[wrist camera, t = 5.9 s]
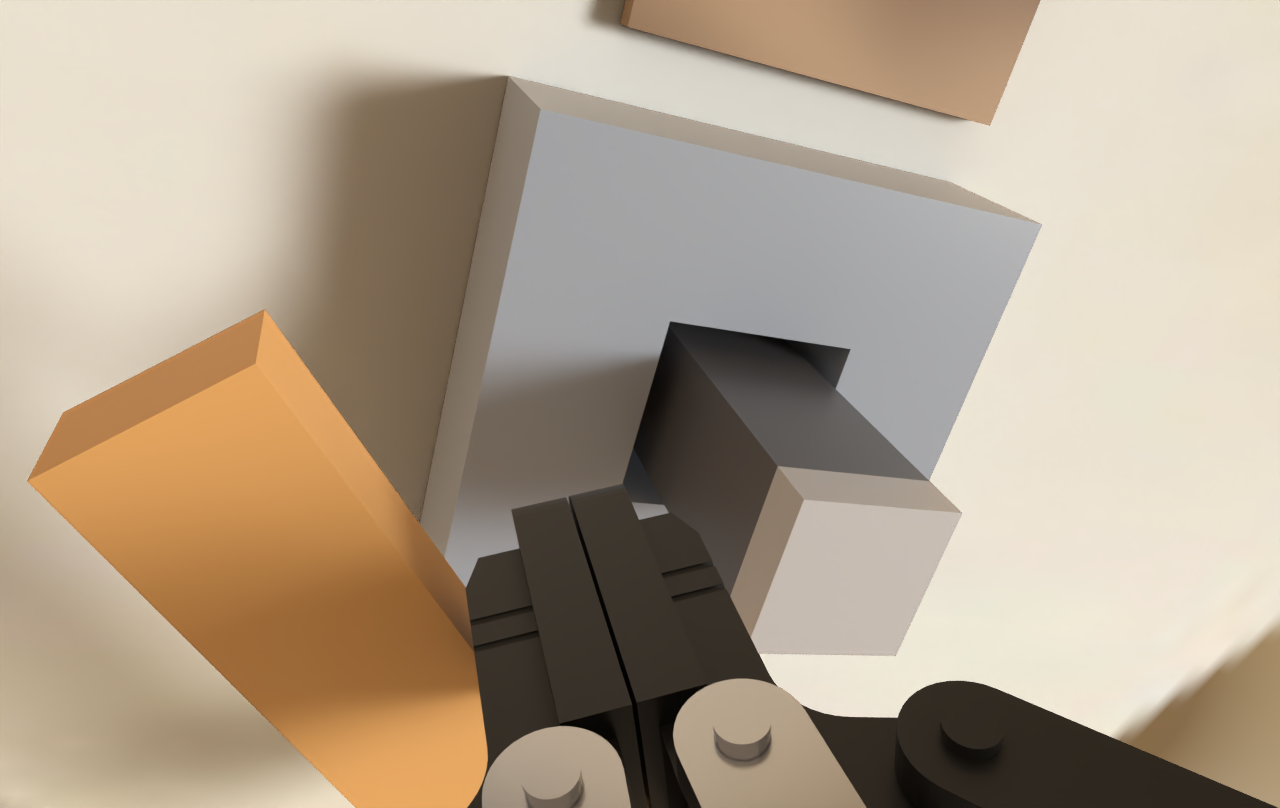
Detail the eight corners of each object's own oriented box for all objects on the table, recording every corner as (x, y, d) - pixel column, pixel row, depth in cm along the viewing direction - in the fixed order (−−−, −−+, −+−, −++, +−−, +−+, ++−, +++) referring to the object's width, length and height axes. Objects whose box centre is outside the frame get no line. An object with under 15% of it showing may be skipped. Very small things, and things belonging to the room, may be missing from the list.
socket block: (508, 75, 19) (541, 108, 16) (950, 182, 23) (1042, 224, 20) (418, 530, 23) (430, 623, 20) (803, 554, 27) (861, 634, 24)
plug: (641, 291, 22) (803, 499, 14) (754, 309, 23) (962, 512, 15) (609, 404, 23) (744, 653, 16) (718, 417, 24) (895, 655, 17)
